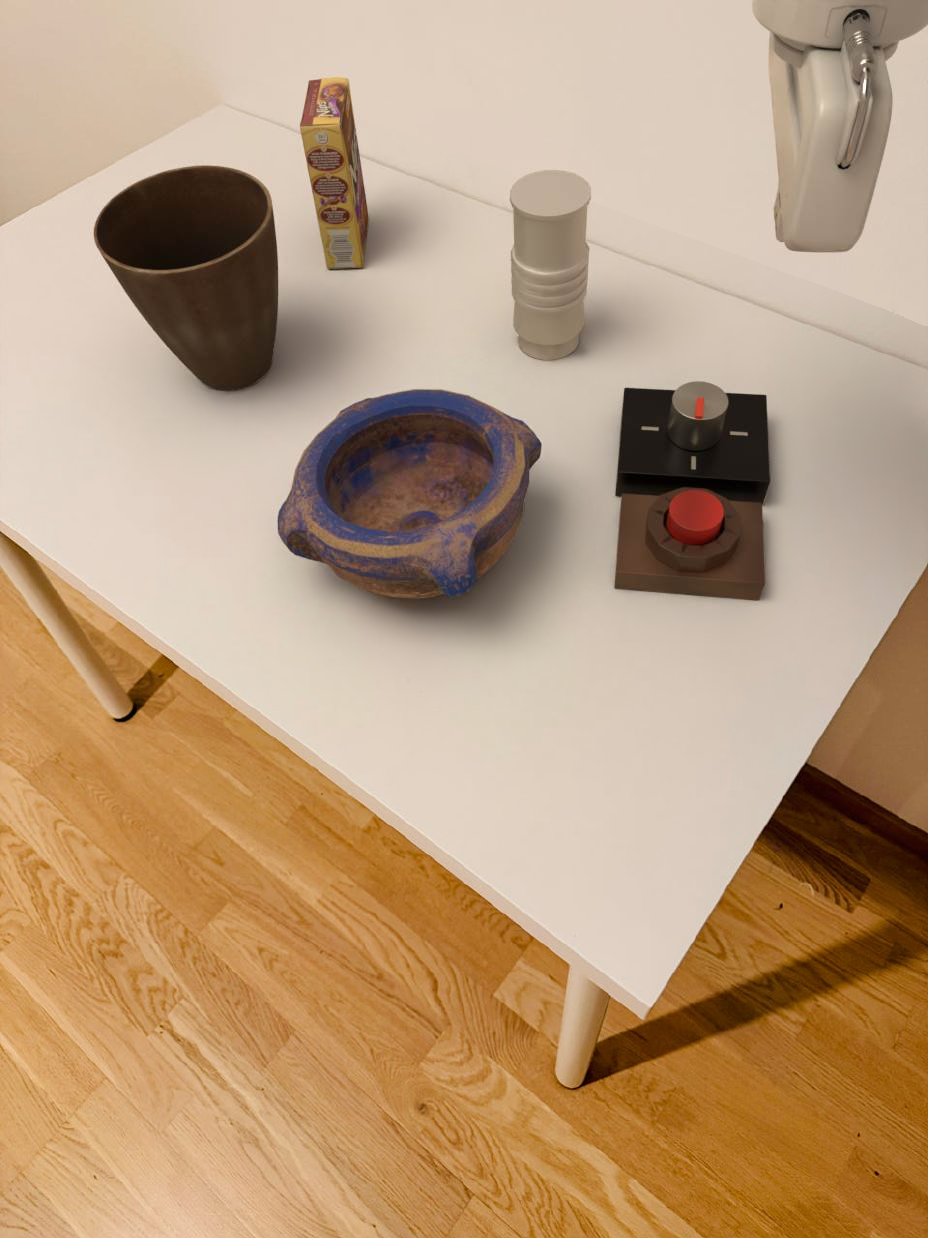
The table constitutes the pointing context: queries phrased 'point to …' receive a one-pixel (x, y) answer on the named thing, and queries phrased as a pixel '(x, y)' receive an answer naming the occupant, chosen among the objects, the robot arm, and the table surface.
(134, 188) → the flower pot
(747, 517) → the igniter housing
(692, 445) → the knob
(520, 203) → the beige ribbed cylinder
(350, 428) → the bowl
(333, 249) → the candy box
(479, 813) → the table surface
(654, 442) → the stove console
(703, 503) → the igniter button
